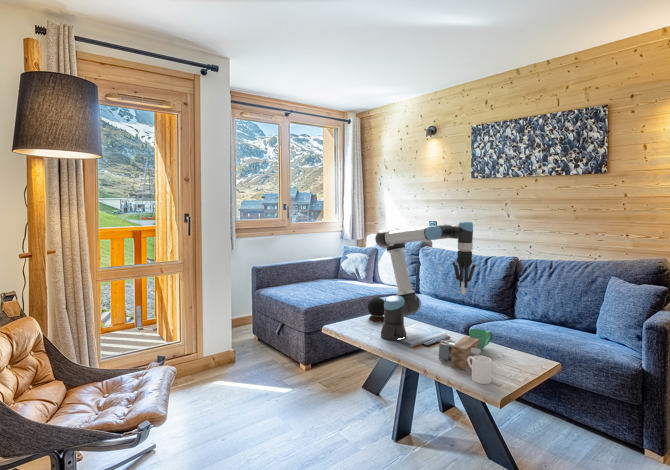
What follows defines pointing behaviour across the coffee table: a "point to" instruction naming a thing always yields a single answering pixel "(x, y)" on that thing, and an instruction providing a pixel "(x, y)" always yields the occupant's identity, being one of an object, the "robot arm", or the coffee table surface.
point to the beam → (463, 352)
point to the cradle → (445, 351)
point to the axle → (473, 350)
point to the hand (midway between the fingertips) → (463, 293)
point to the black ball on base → (376, 309)
